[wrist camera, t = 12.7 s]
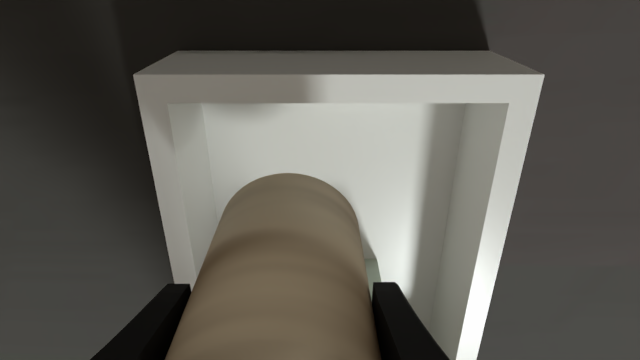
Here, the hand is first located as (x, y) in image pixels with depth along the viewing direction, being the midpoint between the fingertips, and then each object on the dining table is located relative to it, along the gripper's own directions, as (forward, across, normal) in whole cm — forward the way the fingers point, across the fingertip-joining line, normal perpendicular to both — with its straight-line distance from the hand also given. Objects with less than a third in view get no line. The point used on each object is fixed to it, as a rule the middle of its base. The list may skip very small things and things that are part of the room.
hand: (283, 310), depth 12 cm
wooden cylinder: (+4, 0, 0) cm, 4 cm away
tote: (+10, -2, +4) cm, 11 cm away
